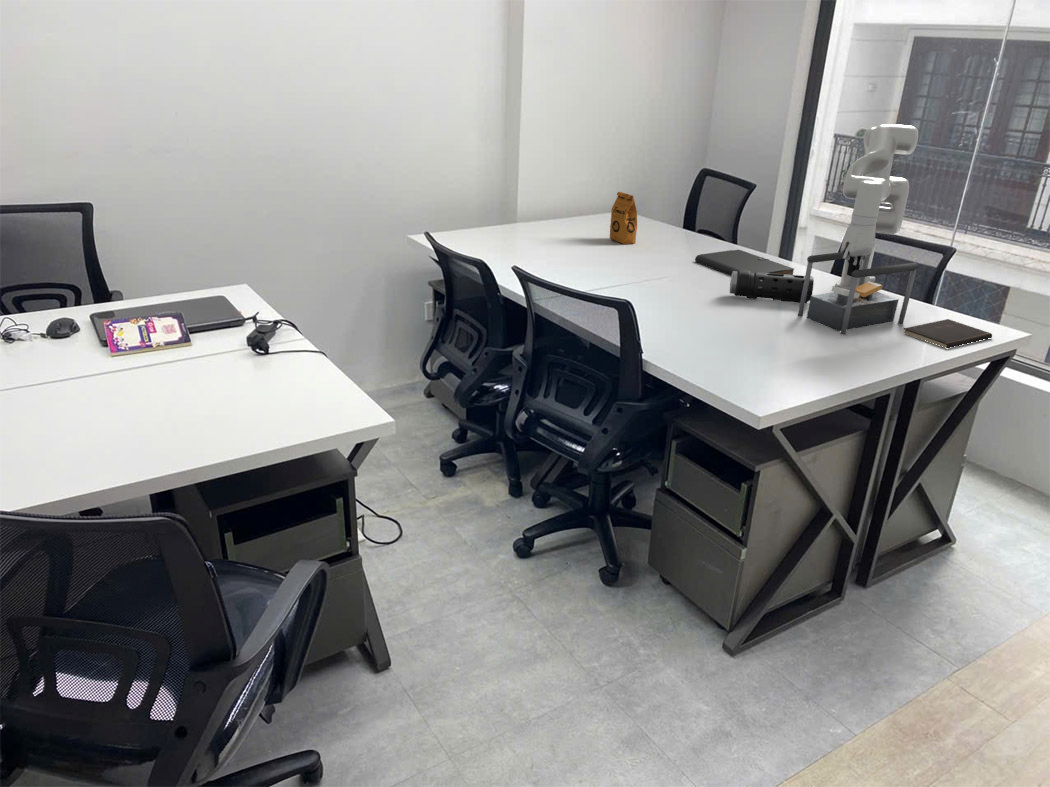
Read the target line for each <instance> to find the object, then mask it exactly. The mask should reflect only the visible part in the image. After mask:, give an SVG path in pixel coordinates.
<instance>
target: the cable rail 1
mask: <svg viewBox="0 0 1050 787" xmlns="http://www.w3.org/2000/svg"><path fill="white" fill-rule="evenodd" d="M870 255H871V253H870V254H869V257H867V258H865V259H864V263H863V267H862V269H867V267H868V263H869V258H870ZM843 256H844V254H842V253H841V251H840V252H839V251H838V252H832V253H822V254H815V255H813V254H812V255H809V256H808V257H807V258H806V260H807V265H806V271H805V274H804V276H805V280H804V285H803V291H802V296H801V301H800V303H799V307H798V312H797V317H799V318H802V317H803V315H804V311H805V305H806V303H805V301H806V296H807V291H808V286H809V280H810V276H811V274H812V270H813V264H814V263H815V264H816V263H822V262H829V261H839V260H844V259H843ZM864 281H865V277H860V281H859V286H860V285H862V284H864Z"/></svg>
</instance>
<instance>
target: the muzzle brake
mask: <svg viewBox="0 0 1050 787" xmlns="http://www.w3.org/2000/svg"><path fill="white" fill-rule="evenodd" d="M804 280H805V275H798V274H793V275H788V274H775V273H764V272H755V273H751V271H749V270H737V271H732V275H730V283H729V294H731V295H732V294H733V295H734V296H735V297H744V298H745V297H746V299H749V300H757V299H759V298H760V299H770V300H772V301H780V302H785V303H786V302H787V303H799V304H800V301H801V296H802V291H803V285H804ZM814 284H815V283H814V276H811V275H810V280H809V286H808V291H807V296H806V301H805V304H807V303H808V302H810V298H811V296H813V291H814Z"/></svg>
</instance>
